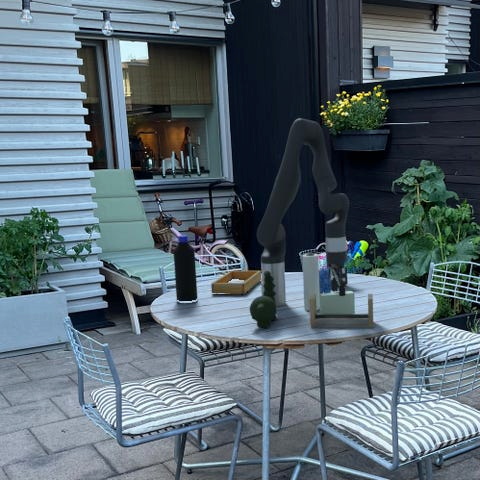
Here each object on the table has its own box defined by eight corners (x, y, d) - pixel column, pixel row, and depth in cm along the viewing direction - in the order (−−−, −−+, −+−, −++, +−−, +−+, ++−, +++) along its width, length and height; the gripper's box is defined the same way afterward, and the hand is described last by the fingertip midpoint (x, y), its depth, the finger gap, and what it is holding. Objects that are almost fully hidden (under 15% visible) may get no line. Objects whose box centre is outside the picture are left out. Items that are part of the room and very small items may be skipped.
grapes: (341, 292, 264) (340, 265, 262) (340, 296, 257) (339, 268, 256) (313, 292, 266) (312, 265, 265) (312, 296, 260) (311, 268, 258)
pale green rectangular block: (322, 320, 223) (322, 295, 222) (320, 317, 227) (319, 293, 225) (355, 317, 225) (354, 292, 224) (351, 314, 228) (351, 290, 227)
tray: (231, 281, 302) (230, 269, 301) (261, 281, 298) (260, 269, 297) (211, 296, 273) (210, 283, 272) (245, 296, 269) (244, 283, 268)
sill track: (310, 327, 214) (309, 299, 213) (312, 321, 222) (311, 294, 220) (373, 328, 210) (372, 299, 208) (373, 321, 217) (372, 293, 216)
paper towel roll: (318, 311, 235) (316, 255, 232) (302, 311, 237) (300, 255, 234) (322, 306, 242) (320, 252, 239) (307, 306, 244) (305, 252, 241)
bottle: (194, 304, 258) (190, 237, 254) (174, 304, 260) (169, 237, 256) (200, 299, 266) (196, 234, 262) (180, 299, 268) (176, 234, 264)
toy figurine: (258, 319, 235) (246, 332, 211) (256, 269, 234) (244, 276, 210) (283, 319, 234) (274, 332, 209) (281, 269, 233) (272, 276, 208)
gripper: (353, 251, 216) (355, 296, 218) (339, 245, 230) (342, 288, 232) (332, 253, 215) (334, 298, 217) (320, 247, 229) (322, 290, 231)
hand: (338, 293), depth 225 cm, fingers open, 8 cm apart
